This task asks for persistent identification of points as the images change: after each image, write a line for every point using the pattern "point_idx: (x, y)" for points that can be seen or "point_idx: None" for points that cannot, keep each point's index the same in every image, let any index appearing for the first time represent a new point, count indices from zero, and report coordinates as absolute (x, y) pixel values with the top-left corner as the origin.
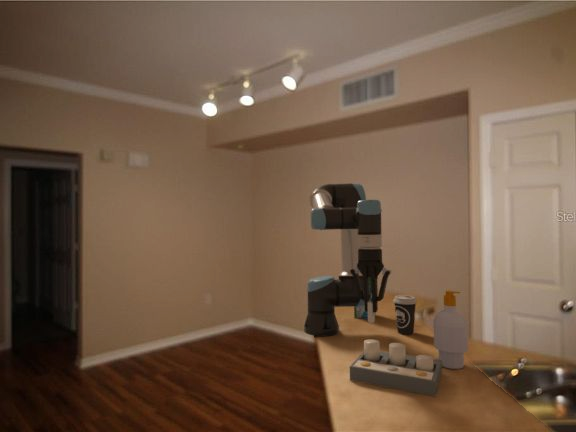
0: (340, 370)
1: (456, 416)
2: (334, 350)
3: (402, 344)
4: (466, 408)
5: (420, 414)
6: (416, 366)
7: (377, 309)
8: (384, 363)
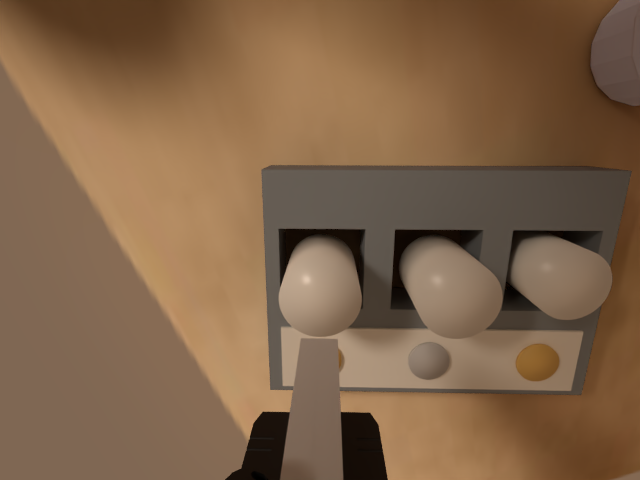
0: (216, 301)
1: (597, 443)
2: (89, 97)
3: (486, 275)
4: (631, 396)
5: (507, 466)
6: (514, 279)
7: (379, 435)
8: (386, 310)
